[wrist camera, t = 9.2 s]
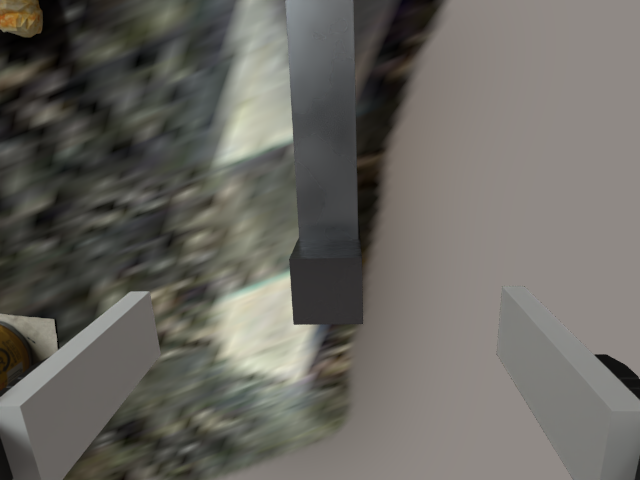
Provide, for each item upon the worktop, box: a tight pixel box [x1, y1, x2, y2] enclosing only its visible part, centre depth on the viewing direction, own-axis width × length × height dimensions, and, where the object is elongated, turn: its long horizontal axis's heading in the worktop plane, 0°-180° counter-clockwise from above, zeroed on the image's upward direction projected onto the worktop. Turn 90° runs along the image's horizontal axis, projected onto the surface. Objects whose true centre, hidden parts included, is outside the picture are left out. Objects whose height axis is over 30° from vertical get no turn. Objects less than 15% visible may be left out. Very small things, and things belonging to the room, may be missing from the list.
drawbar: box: [285, 0, 363, 325], centre depth 20 cm, size 23×3×8 cm, turn 3°
